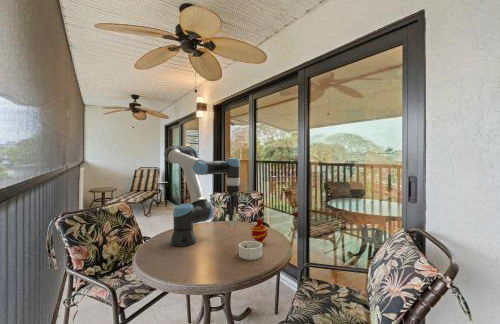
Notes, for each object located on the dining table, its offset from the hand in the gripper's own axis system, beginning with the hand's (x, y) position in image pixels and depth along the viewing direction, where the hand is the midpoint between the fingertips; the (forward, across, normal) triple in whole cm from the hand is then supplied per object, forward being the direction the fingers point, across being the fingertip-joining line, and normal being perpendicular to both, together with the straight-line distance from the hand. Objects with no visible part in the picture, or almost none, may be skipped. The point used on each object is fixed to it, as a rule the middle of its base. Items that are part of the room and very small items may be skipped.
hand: (232, 225), depth 147 cm
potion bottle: (+13, +16, -11) cm, 23 cm away
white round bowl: (+13, -5, -14) cm, 20 cm away
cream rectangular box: (0, 0, 0) cm, 0 cm away
